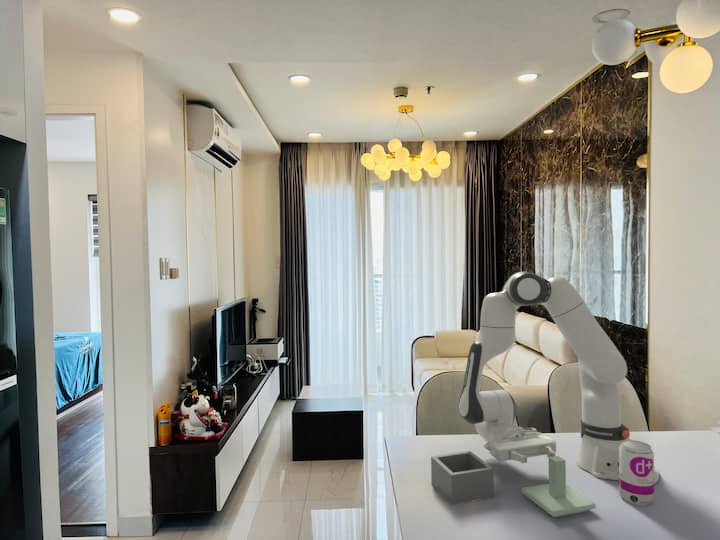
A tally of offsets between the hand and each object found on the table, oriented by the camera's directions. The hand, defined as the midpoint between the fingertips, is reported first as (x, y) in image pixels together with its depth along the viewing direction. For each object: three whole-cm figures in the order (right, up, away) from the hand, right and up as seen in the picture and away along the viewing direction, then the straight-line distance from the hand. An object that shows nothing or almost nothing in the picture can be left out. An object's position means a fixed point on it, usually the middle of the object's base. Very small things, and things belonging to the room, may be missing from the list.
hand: (539, 458), depth 133 cm
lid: (+2, -10, -7) cm, 12 cm away
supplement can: (+25, -10, -5) cm, 27 cm away
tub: (-22, -10, +2) cm, 24 cm away
